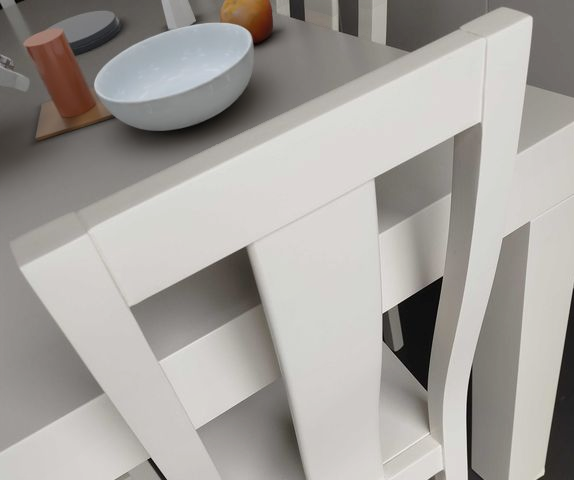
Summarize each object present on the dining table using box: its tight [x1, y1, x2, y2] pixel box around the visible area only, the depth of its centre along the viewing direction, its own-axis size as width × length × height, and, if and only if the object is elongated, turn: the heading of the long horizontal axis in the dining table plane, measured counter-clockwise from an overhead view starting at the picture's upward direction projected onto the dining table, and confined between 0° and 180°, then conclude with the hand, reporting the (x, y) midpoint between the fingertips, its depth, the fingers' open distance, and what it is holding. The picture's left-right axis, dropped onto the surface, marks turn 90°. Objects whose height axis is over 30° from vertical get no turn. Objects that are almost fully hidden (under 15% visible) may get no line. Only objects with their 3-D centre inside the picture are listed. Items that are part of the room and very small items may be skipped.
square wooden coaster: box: [34, 87, 116, 142], centre depth 87 cm, size 12×12×1 cm
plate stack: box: [45, 10, 122, 56], centre depth 109 cm, size 16×16×2 cm
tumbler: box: [23, 28, 96, 118], centre depth 83 cm, size 6×6×10 cm
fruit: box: [219, 0, 274, 44], centre depth 90 cm, size 8×8×8 cm
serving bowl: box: [93, 22, 255, 132], centre depth 77 cm, size 21×21×7 cm
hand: (20, 75), depth 81 cm, fingers open, 8 cm apart
